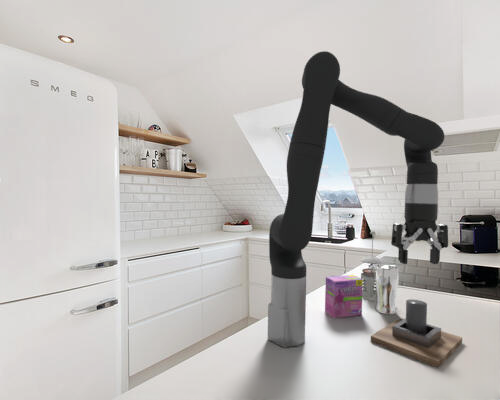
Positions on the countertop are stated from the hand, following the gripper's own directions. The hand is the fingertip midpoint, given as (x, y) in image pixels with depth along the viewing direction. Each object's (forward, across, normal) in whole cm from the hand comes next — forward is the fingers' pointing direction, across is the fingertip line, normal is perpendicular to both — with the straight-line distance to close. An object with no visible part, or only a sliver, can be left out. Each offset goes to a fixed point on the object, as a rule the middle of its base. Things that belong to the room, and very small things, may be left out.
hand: (418, 263), depth 80 cm
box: (+21, -11, +20) cm, 31 cm away
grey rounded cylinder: (+19, 0, 0) cm, 19 cm away
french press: (+21, +6, +35) cm, 41 cm away
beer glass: (+21, +4, +21) cm, 30 cm away
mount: (+21, 0, 0) cm, 21 cm away
